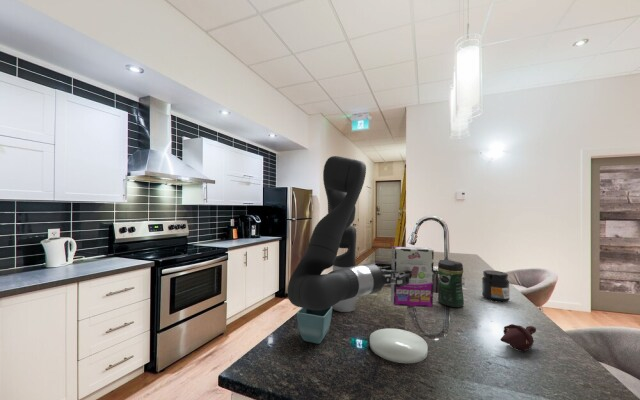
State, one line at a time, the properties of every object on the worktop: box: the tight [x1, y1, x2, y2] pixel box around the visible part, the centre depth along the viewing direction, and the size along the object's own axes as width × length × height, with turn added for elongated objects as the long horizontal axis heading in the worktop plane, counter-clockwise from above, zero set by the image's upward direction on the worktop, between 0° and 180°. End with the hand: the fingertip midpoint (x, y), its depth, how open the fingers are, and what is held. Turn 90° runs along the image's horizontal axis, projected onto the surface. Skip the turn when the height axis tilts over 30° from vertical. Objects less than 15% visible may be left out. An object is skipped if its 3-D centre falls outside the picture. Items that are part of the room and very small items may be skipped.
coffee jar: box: [437, 259, 465, 308], centre depth 112 cm, size 10×8×19 cm
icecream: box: [500, 323, 537, 353], centre depth 76 cm, size 7×7×15 cm
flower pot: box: [296, 307, 333, 345], centre depth 80 cm, size 9×9×9 cm
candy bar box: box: [390, 246, 435, 308], centre depth 77 cm, size 11×5×16 cm, turn 88°
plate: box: [369, 328, 429, 364], centre depth 76 cm, size 16×16×2 cm
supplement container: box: [481, 269, 511, 303], centre depth 120 cm, size 10×10×12 cm
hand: (399, 271), depth 77 cm, fingers closed on candy bar box, 6 cm apart
